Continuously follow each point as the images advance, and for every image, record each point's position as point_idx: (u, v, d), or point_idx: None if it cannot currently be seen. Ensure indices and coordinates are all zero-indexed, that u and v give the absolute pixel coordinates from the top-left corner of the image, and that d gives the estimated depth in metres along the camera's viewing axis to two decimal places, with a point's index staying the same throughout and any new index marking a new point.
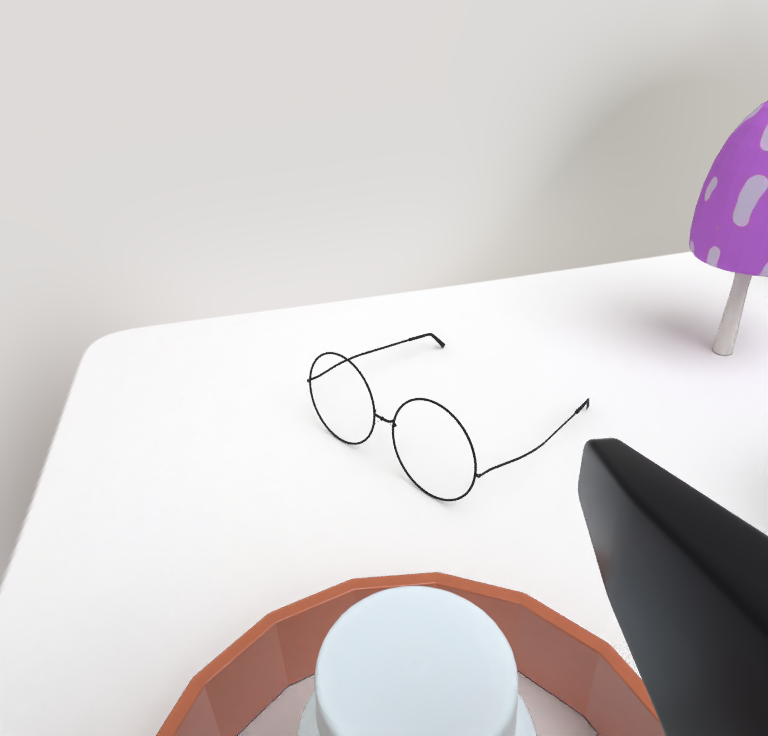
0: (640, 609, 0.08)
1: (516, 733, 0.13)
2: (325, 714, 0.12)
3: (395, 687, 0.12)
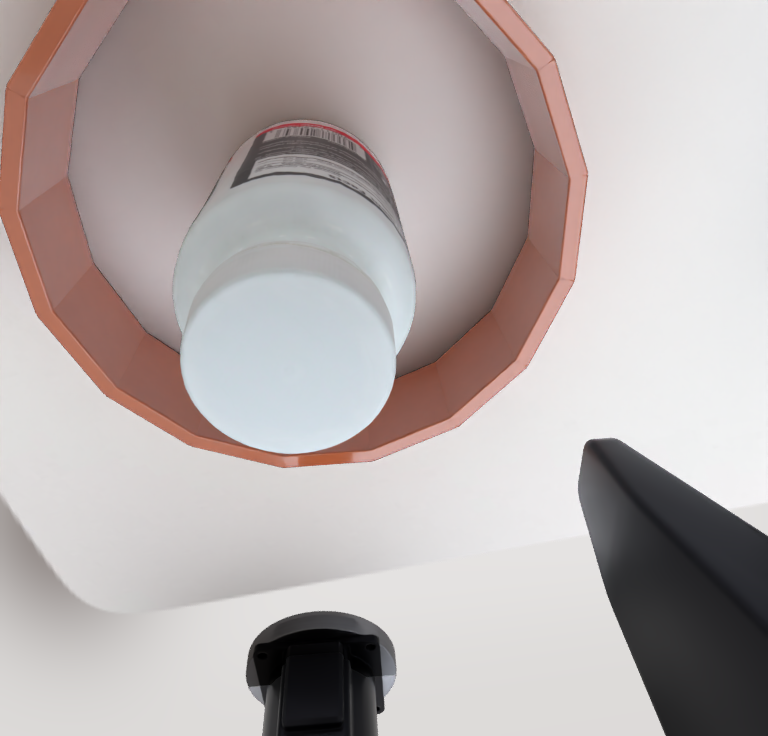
0: (640, 609, 0.08)
1: (393, 322, 0.14)
2: (202, 413, 0.12)
3: (268, 392, 0.12)
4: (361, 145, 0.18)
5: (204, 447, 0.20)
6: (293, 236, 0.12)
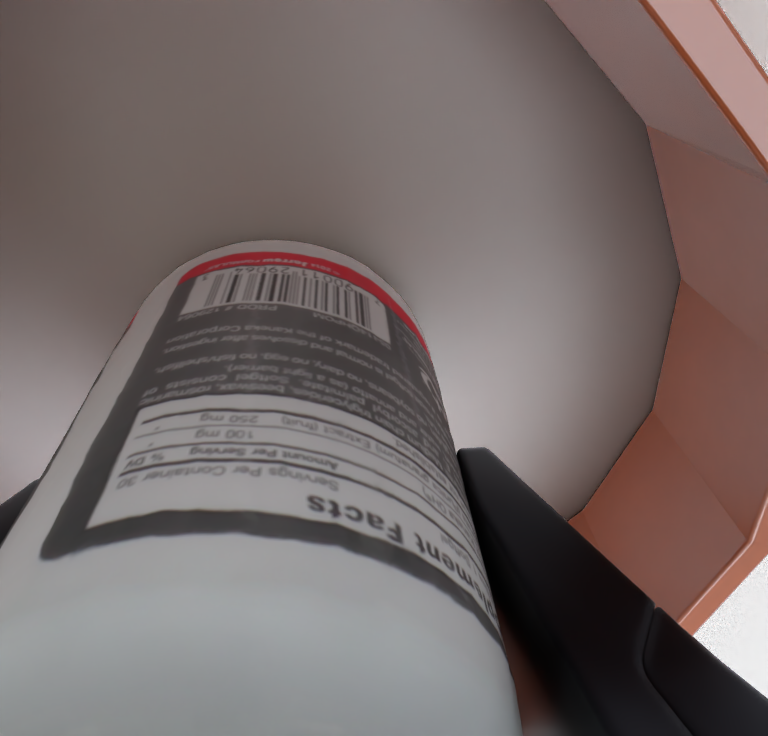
0: None
1: None
2: None
3: None
4: (378, 290, 0.10)
5: None
6: None
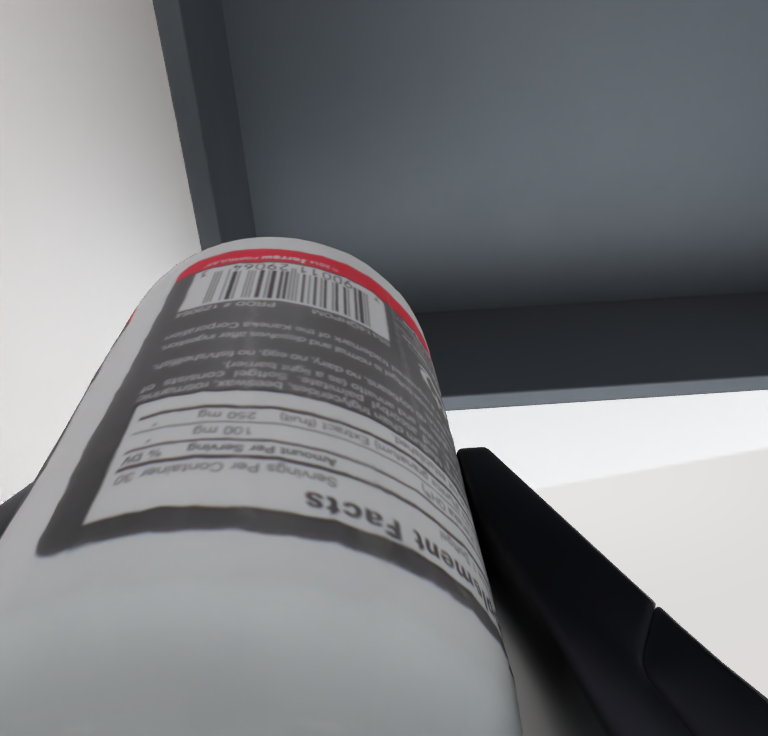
0: None
1: None
2: None
3: None
4: (377, 287, 0.10)
5: None
6: None
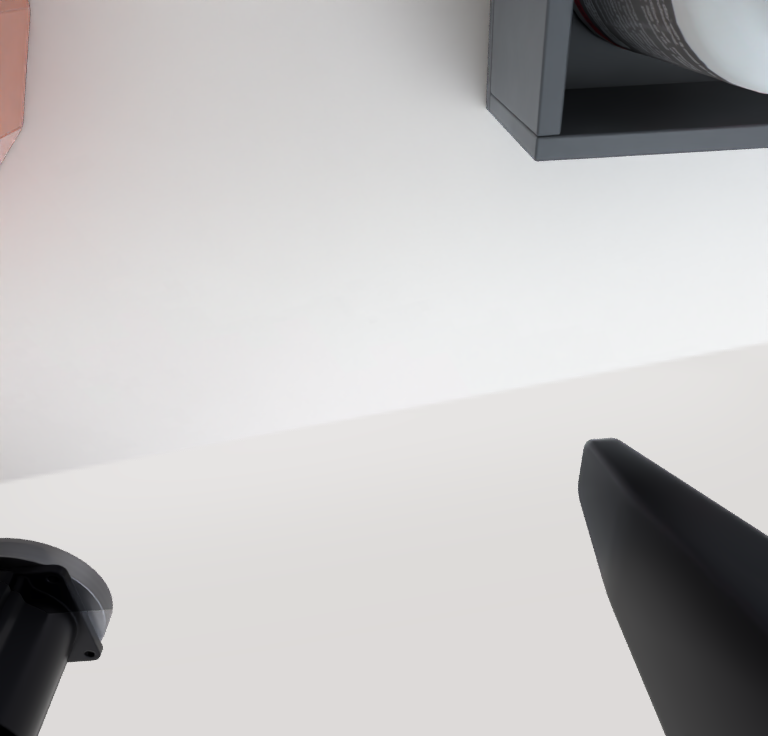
0: (640, 609, 0.08)
1: None
2: None
3: None
4: None
5: None
6: None
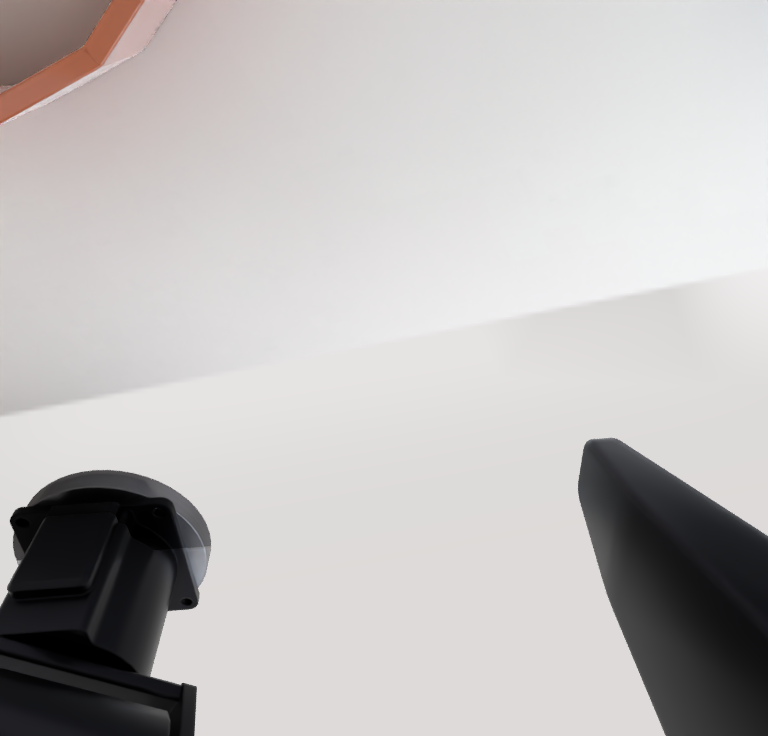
0: (640, 609, 0.08)
1: None
2: None
3: None
4: None
5: None
6: None
